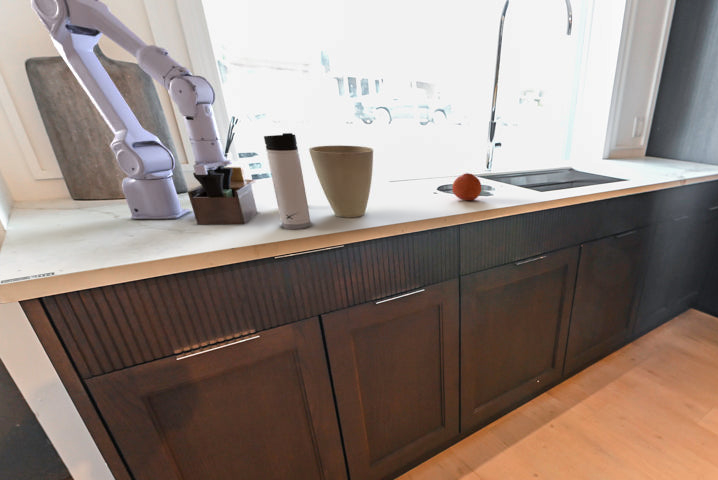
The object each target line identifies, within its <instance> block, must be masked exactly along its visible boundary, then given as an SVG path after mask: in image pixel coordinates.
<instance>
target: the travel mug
mask: <svg viewBox="0 0 718 480" xmlns="http://www.w3.org/2000/svg"><path fill="white" fill-rule="evenodd" d="M263 139H264V144H265V150H266V152H267V153H266V156H267V160H268V165H269V169H270V175H271V179H272V184H273V189H274V194H275V199H276V203H277V208H278V213H279V218H280V223H281V226H282V228H284V229H287V230H300V229H301V230H303V229H308V228H309V227H311V225H312V222H311V217H310V216H311V215H310V209H309V204H308V198H307V192H306V187H305V181H304V175H303V170H302V163H301V157H300V153H299V147H298V145H297V144H298V143H297V135H296V134H293V133H292V132H286V133H285V132H284V133H282V134H276V135H273V134H272V135H264V136H263Z"/></svg>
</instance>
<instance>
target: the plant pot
mask: <svg viewBox="0 0 718 480" xmlns="http://www.w3.org/2000/svg"><path fill="white" fill-rule="evenodd" d="M308 151H309V154H310V158H311V162H312V164H313V165H312V166H313V167H314V170H315V174H316V176H317V178H318V182H319V184H320V186H321V189H322V191H323V194H324V195H325V197H326V199H327V201H328V203H329V205H330V207H331V209H332V211H333V213H334V214H335V216H337V217H339V218H357V217H362V216H364V215H365V213H366V210H367V207H368V203H369V198H370V193H371V186H372V179H373V166H374V148H372V147H367V146H359V145H340V144H339V145H337V144H336V145H319V146H312V147H309V148H308Z"/></svg>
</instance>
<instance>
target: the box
mask: <svg viewBox="0 0 718 480" xmlns="http://www.w3.org/2000/svg"><path fill="white" fill-rule="evenodd" d="M232 193H233V197H208V195H207V193H206V191H205V189H204V188H203V186H202V185H201V184H200V185H198V186H196V187H194V188H192V189H190V190H187V195H188V198H189V201H190V205H191V208H192V212H193V215H194V218H195V221H196V224H197V225H236V224H237V225H241V224H242V225H244V224H246V223H247V222H249V221H250V220H251V219H252V218H253V217H254V216H256V215H257V213H258V209H257V204H256V201H255V196H254V192H253V188H252V185H251V183H247V184H246V185H244V186H243V187H241V188H239V189H238V190H232Z"/></svg>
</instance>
